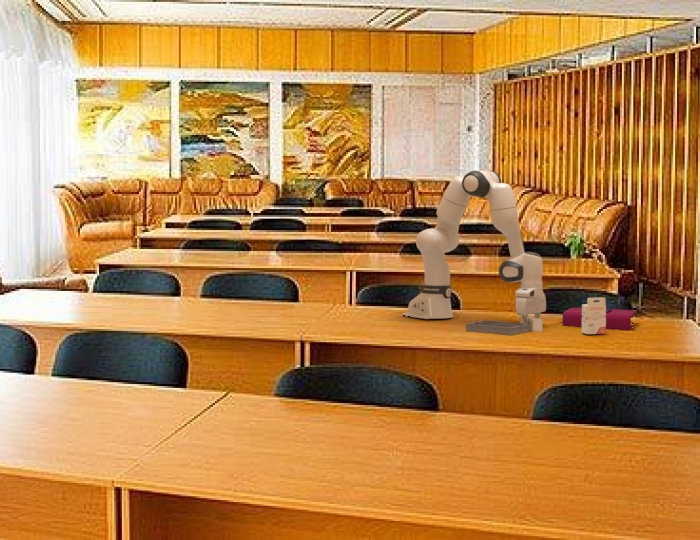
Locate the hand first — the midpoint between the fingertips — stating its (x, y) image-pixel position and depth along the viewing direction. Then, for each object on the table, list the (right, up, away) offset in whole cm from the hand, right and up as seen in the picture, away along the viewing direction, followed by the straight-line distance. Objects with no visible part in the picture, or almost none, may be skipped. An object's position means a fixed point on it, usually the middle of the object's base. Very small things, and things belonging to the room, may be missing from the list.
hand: (531, 324), depth 442 cm
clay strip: (0, -2, 0) cm, 2 cm away
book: (+31, -2, +9) cm, 32 cm away
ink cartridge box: (+23, -3, -12) cm, 26 cm away
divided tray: (-15, -2, -8) cm, 17 cm away
